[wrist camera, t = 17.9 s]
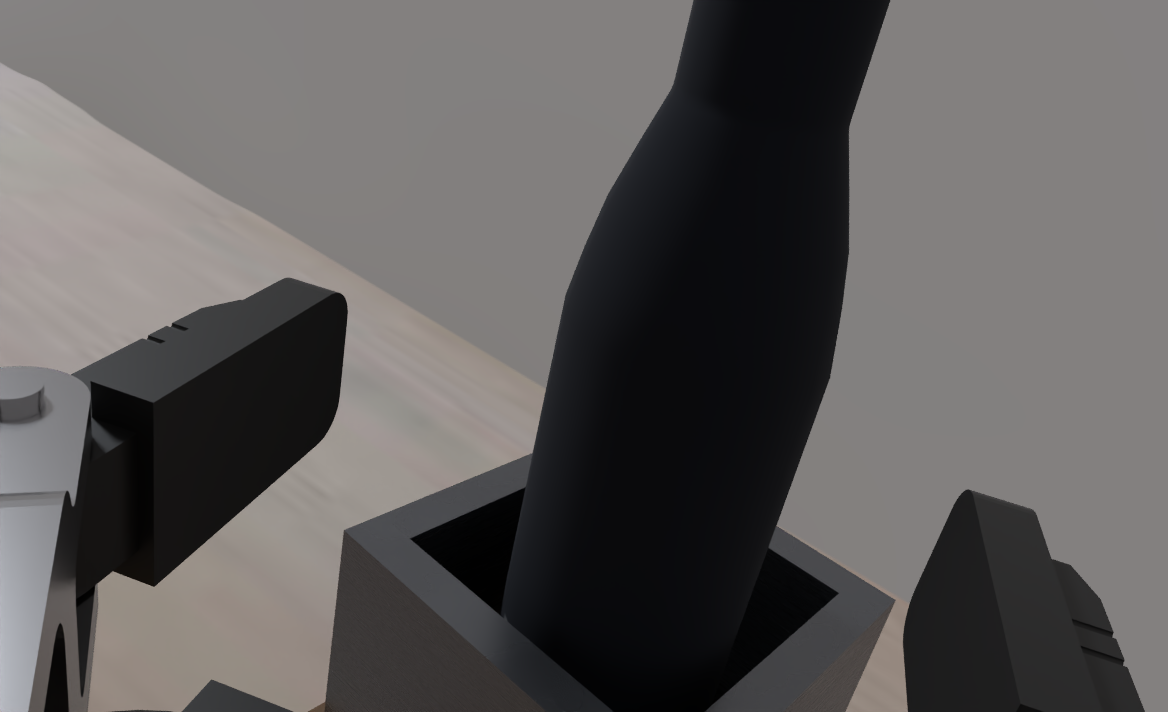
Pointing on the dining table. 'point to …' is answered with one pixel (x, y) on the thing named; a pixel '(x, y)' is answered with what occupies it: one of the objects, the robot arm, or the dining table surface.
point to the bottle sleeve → (518, 667)
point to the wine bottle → (693, 356)
